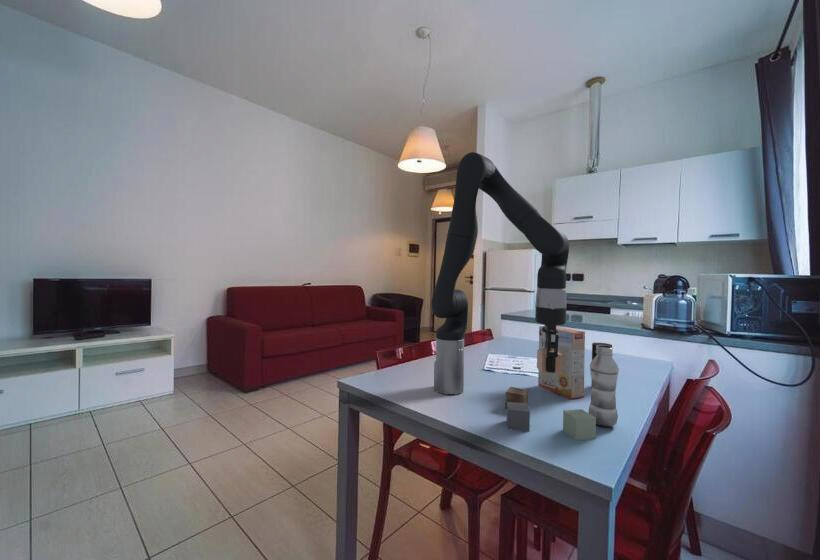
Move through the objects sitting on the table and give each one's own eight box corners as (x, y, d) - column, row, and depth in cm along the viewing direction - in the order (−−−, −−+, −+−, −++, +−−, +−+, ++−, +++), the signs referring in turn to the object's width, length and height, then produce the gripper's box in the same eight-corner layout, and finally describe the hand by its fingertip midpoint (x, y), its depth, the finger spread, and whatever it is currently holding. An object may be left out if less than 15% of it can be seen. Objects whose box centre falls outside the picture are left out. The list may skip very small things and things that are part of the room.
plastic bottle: (606, 418, 88) (608, 343, 87) (624, 430, 81) (625, 349, 81) (583, 418, 87) (584, 343, 87) (598, 430, 81) (599, 349, 80)
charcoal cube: (508, 429, 81) (508, 409, 81) (506, 420, 86) (507, 401, 86) (529, 431, 80) (529, 411, 80) (526, 422, 85) (527, 403, 85)
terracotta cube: (541, 373, 85) (542, 353, 85) (536, 367, 90) (537, 349, 90) (561, 374, 84) (562, 354, 84) (555, 368, 89) (556, 350, 89)
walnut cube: (505, 409, 93) (505, 391, 93) (510, 403, 98) (510, 386, 98) (523, 413, 91) (523, 395, 91) (527, 407, 95) (527, 389, 95)
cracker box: (585, 397, 103) (586, 331, 103) (570, 400, 101) (571, 332, 100) (550, 383, 116) (551, 324, 116) (537, 385, 114) (538, 325, 113)
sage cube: (576, 440, 76) (576, 418, 76) (563, 430, 81) (563, 410, 81) (595, 439, 76) (596, 417, 76) (581, 429, 81) (581, 409, 81)
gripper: (533, 302, 95) (532, 360, 95) (537, 307, 81) (536, 375, 81) (562, 303, 93) (560, 363, 93) (571, 308, 79) (569, 378, 79)
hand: (549, 368), depth 87 cm, fingers closed on terracotta cube, 5 cm apart
